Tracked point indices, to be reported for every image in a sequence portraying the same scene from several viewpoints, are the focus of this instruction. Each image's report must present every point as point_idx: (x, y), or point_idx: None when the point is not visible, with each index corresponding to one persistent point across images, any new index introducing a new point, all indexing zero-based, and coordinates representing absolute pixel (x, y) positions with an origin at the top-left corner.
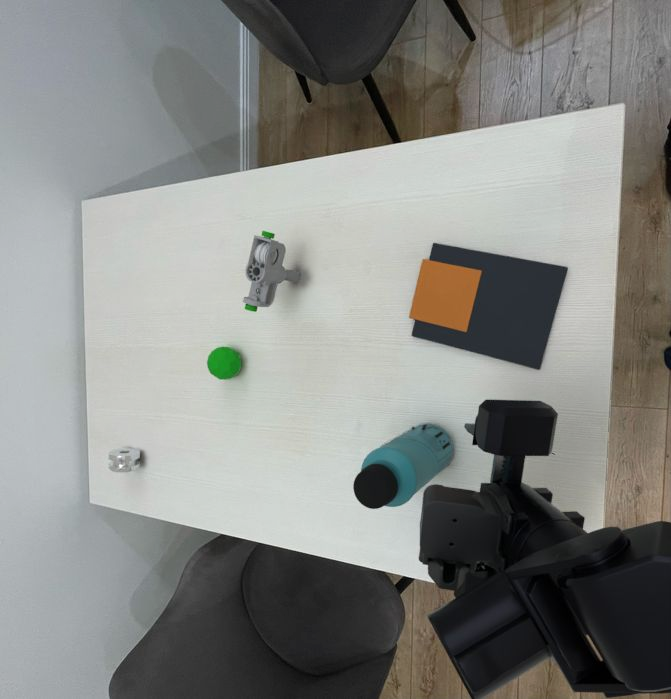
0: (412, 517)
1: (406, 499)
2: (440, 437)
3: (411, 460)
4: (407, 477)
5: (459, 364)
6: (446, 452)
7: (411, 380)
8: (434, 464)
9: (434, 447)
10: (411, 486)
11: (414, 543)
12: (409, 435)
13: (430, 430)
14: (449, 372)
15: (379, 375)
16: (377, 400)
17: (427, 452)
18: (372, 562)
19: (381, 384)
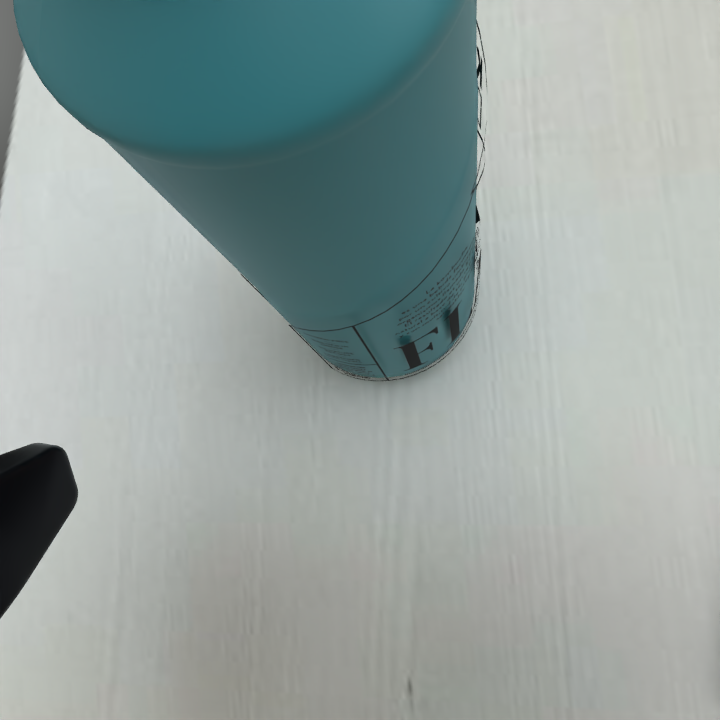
0: (148, 252)
1: (62, 79)
2: (442, 331)
3: (388, 105)
4: (238, 47)
5: (702, 389)
6: (383, 358)
7: (614, 219)
8: (340, 308)
9: (418, 306)
10: (165, 101)
11: (71, 263)
12: (476, 174)
13: (468, 289)
14: (664, 353)
15: (617, 108)
16: (524, 109)
17: (407, 265)
18: (10, 142)
19: (584, 117)
